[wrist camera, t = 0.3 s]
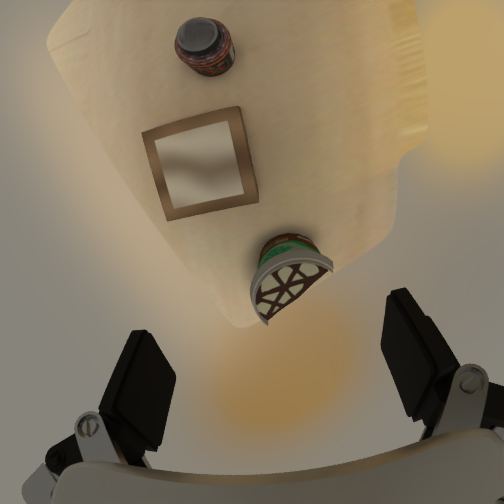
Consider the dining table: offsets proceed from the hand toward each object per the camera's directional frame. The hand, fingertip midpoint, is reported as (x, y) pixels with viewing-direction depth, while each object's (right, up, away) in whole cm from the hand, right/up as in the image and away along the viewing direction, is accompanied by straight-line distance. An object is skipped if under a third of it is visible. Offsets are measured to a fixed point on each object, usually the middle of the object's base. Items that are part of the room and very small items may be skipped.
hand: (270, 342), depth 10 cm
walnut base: (-7, +16, +25) cm, 31 cm away
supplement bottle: (-6, +29, +19) cm, 35 cm away
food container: (+3, +4, +32) cm, 32 cm away
